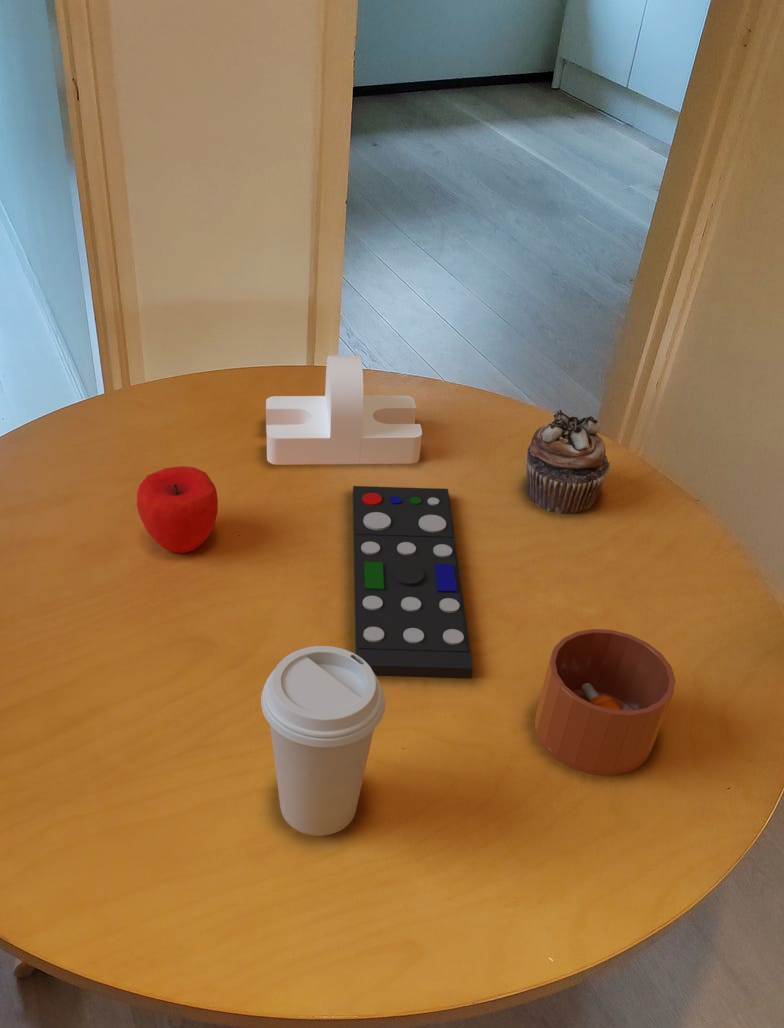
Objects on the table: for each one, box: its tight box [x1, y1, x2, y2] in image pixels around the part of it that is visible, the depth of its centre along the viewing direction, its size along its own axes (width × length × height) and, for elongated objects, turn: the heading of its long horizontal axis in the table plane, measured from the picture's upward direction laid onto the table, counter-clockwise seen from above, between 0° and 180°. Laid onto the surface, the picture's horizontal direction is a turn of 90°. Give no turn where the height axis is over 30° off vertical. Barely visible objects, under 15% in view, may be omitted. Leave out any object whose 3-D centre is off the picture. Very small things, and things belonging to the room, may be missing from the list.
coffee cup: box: [260, 645, 386, 837], centre depth 82 cm, size 10×10×15 cm
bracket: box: [265, 354, 423, 466], centre depth 126 cm, size 19×10×11 cm, turn 93°
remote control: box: [352, 485, 474, 680], centre depth 109 cm, size 11×30×2 cm, turn 179°
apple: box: [136, 465, 219, 554], centre depth 111 cm, size 9×9×8 cm
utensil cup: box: [534, 628, 676, 777], centre depth 91 cm, size 11×11×8 cm
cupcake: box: [525, 409, 611, 515], centre depth 119 cm, size 10×10×10 cm
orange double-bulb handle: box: [582, 683, 622, 710], centre depth 93 cm, size 8×3×3 cm
